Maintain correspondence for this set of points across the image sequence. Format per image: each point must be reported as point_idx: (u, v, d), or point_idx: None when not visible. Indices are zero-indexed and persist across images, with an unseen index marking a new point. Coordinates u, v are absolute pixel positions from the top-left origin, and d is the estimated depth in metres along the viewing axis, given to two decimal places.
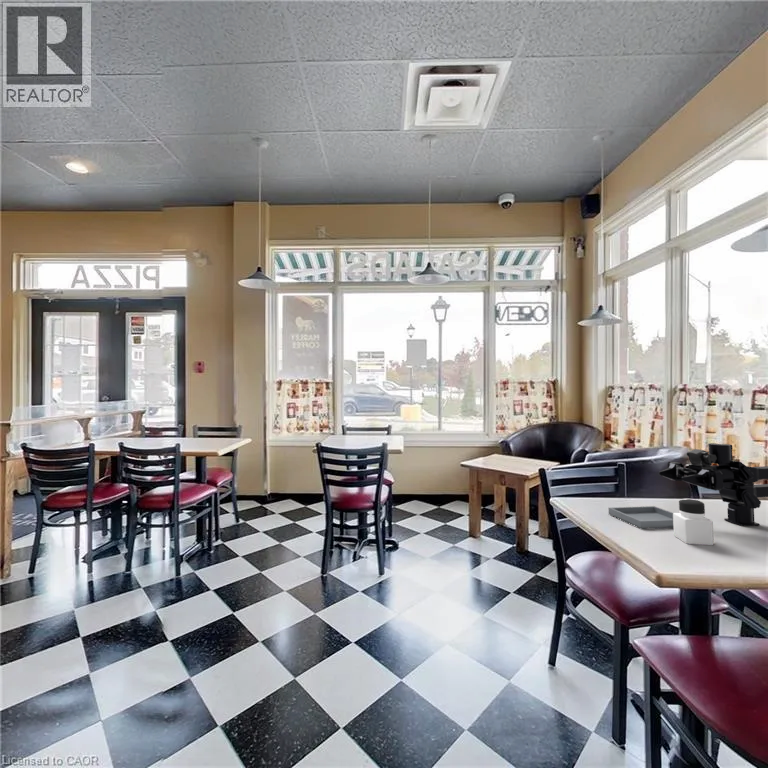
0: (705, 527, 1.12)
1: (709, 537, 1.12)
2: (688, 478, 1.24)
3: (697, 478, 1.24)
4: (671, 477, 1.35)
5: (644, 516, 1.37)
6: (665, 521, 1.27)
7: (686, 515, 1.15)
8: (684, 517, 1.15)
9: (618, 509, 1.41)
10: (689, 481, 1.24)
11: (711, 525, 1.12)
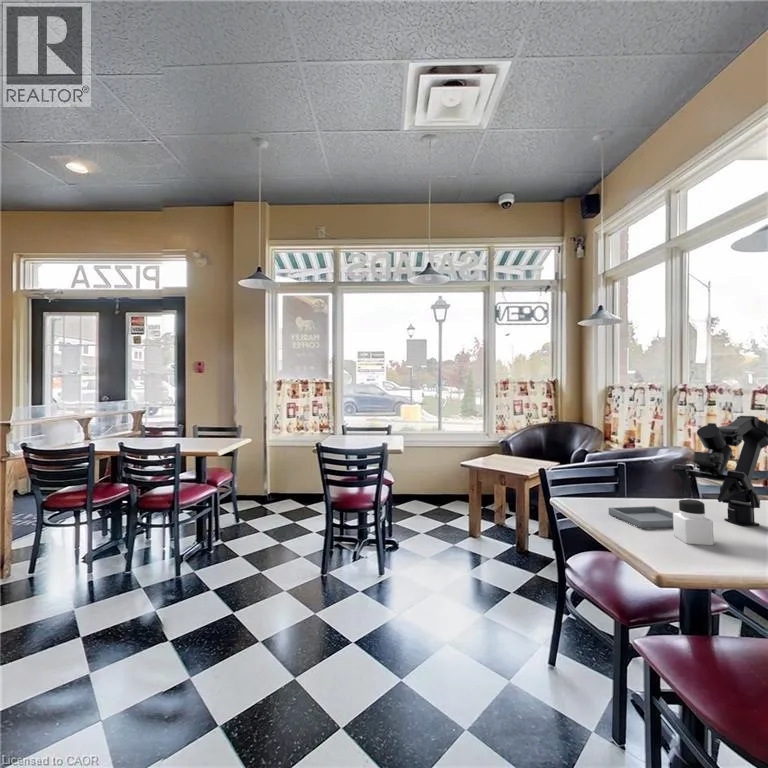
0: (705, 527, 1.12)
1: (709, 537, 1.12)
2: (723, 496, 1.14)
3: (727, 490, 1.15)
4: (689, 486, 1.25)
5: (644, 516, 1.37)
6: (665, 521, 1.27)
7: (686, 515, 1.15)
8: (684, 517, 1.15)
9: (618, 509, 1.41)
10: (724, 498, 1.15)
11: (711, 525, 1.12)
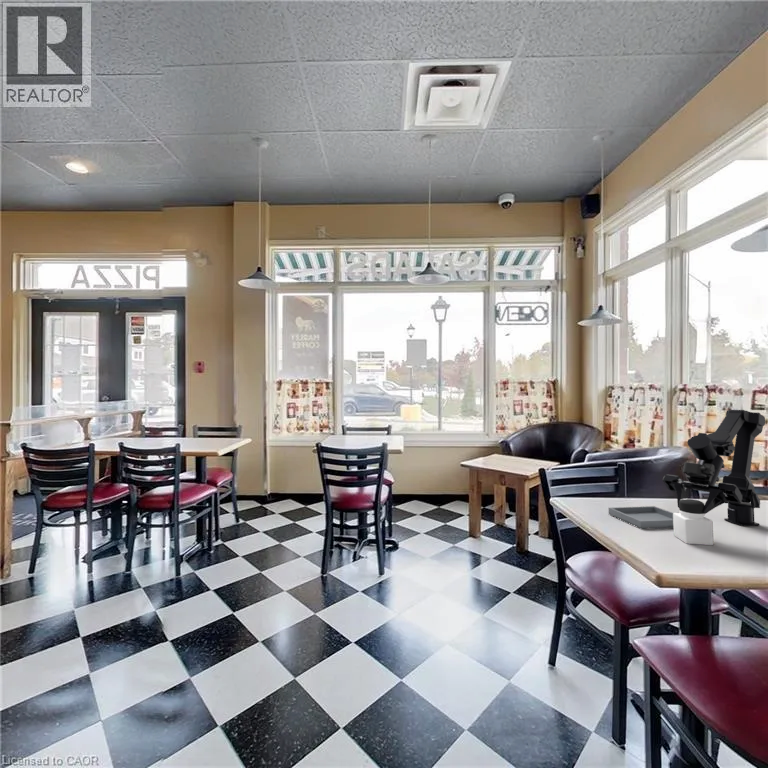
0: (705, 526, 1.12)
1: (709, 537, 1.12)
2: (708, 508, 1.13)
3: (713, 501, 1.13)
4: (685, 498, 1.21)
5: (644, 516, 1.37)
6: (665, 521, 1.27)
7: (686, 515, 1.15)
8: (684, 517, 1.15)
9: (618, 509, 1.41)
10: (709, 509, 1.13)
11: (711, 525, 1.12)
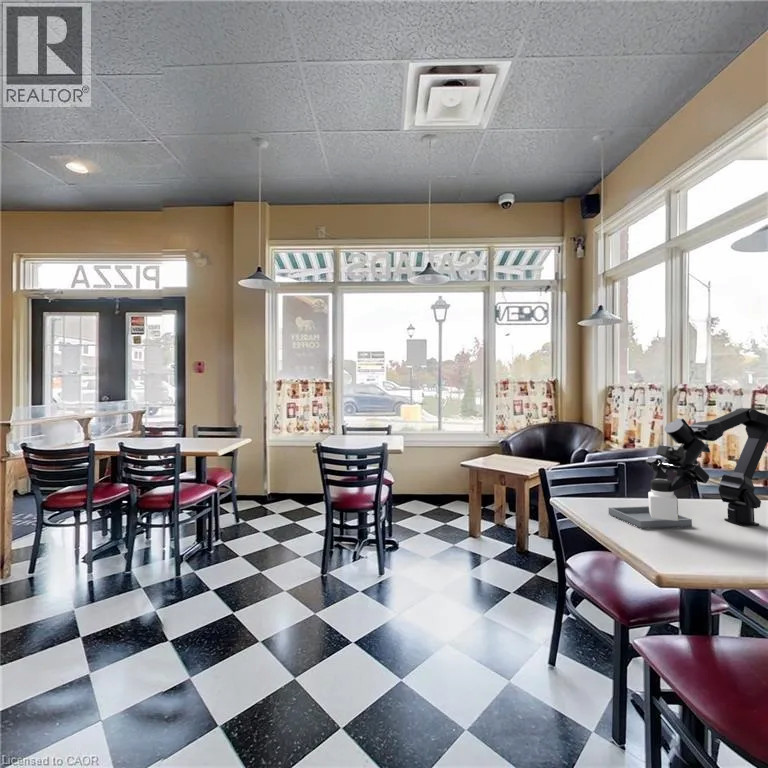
0: (670, 503, 1.22)
1: (673, 513, 1.22)
2: (674, 486, 1.23)
3: (680, 480, 1.22)
4: None
5: (644, 516, 1.37)
6: (665, 521, 1.27)
7: (654, 493, 1.26)
8: (652, 494, 1.26)
9: (618, 509, 1.41)
10: (676, 488, 1.23)
11: (675, 502, 1.22)
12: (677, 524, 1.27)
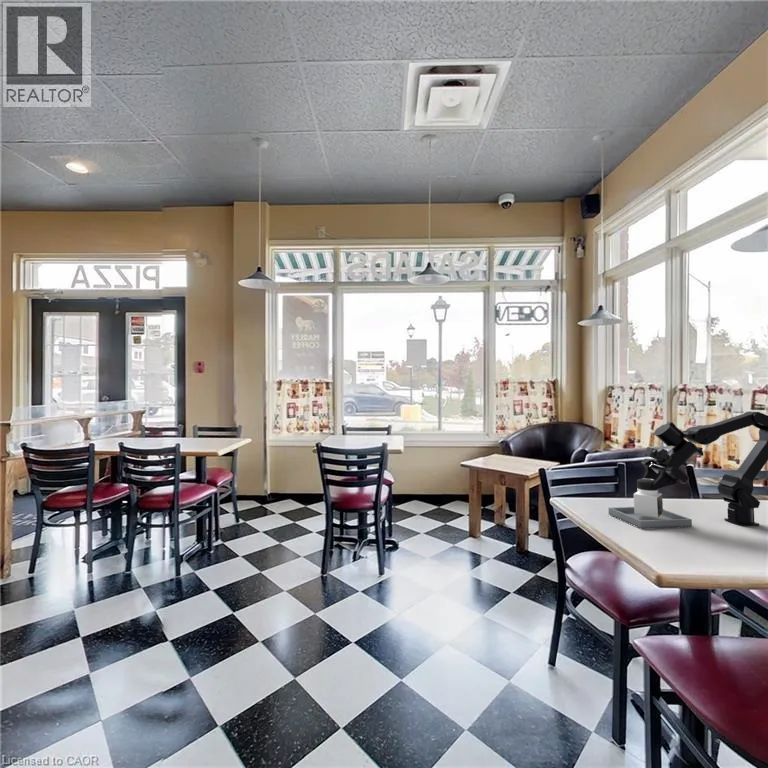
0: (650, 501, 1.31)
1: (653, 510, 1.31)
2: (655, 485, 1.31)
3: (662, 480, 1.31)
4: (654, 479, 1.38)
5: (644, 516, 1.37)
6: (665, 521, 1.27)
7: (638, 491, 1.36)
8: (636, 492, 1.36)
9: (618, 509, 1.41)
10: (658, 487, 1.31)
11: (656, 500, 1.30)
12: (677, 524, 1.27)
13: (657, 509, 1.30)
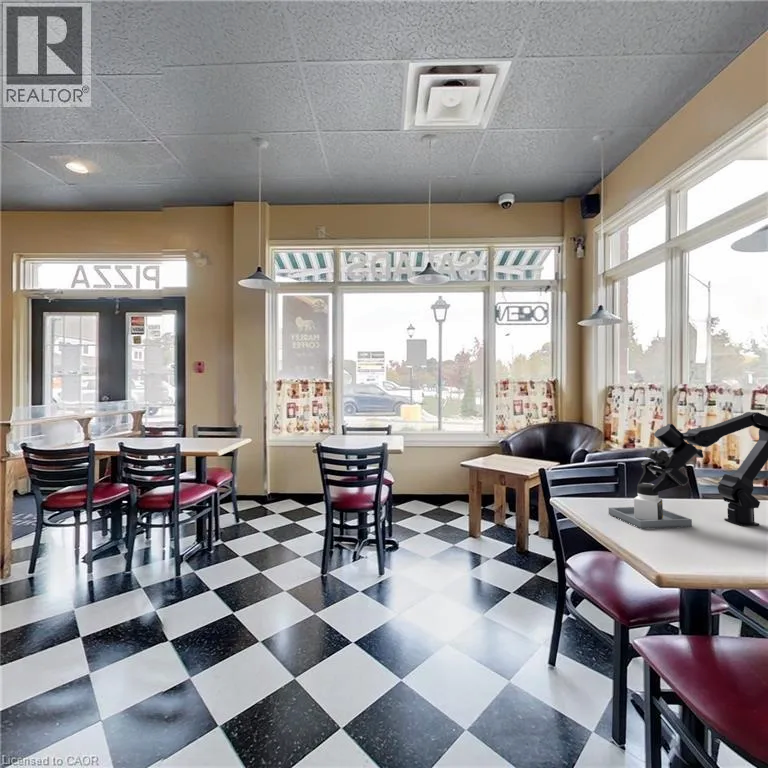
0: (651, 506, 1.31)
1: (653, 515, 1.31)
2: (657, 488, 1.30)
3: (664, 483, 1.29)
4: (651, 479, 1.39)
5: None
6: (665, 521, 1.27)
7: (639, 495, 1.35)
8: (637, 497, 1.36)
9: (618, 509, 1.41)
10: (660, 489, 1.30)
11: (656, 505, 1.30)
12: (677, 524, 1.27)
13: (657, 514, 1.30)
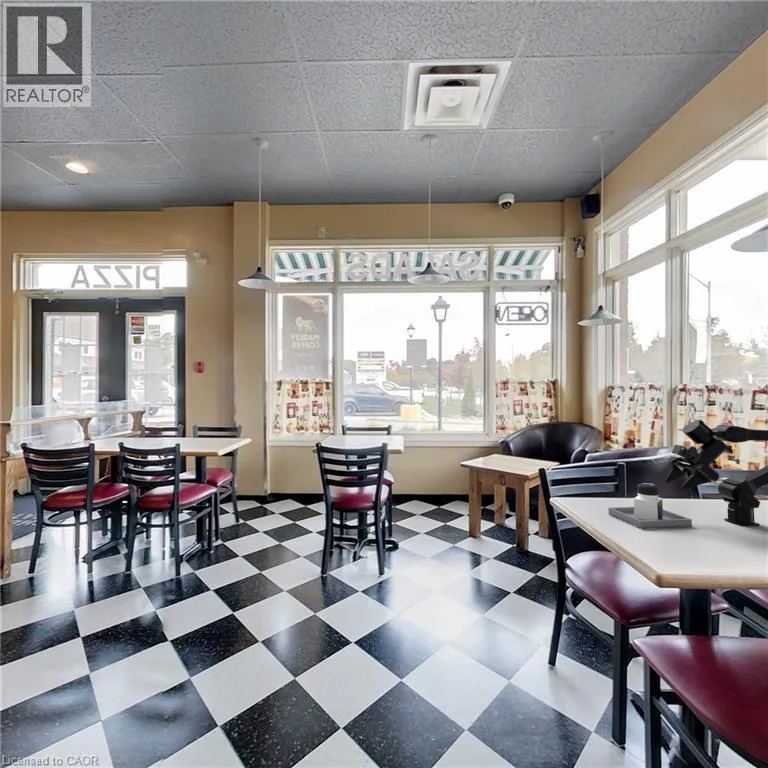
0: (651, 506, 1.31)
1: (654, 515, 1.31)
2: (687, 484, 1.29)
3: (694, 479, 1.28)
4: (679, 476, 1.38)
5: None
6: (665, 521, 1.27)
7: (639, 495, 1.35)
8: (637, 497, 1.36)
9: (618, 509, 1.41)
10: (690, 486, 1.28)
11: (656, 505, 1.30)
12: (677, 524, 1.27)
13: (657, 514, 1.30)
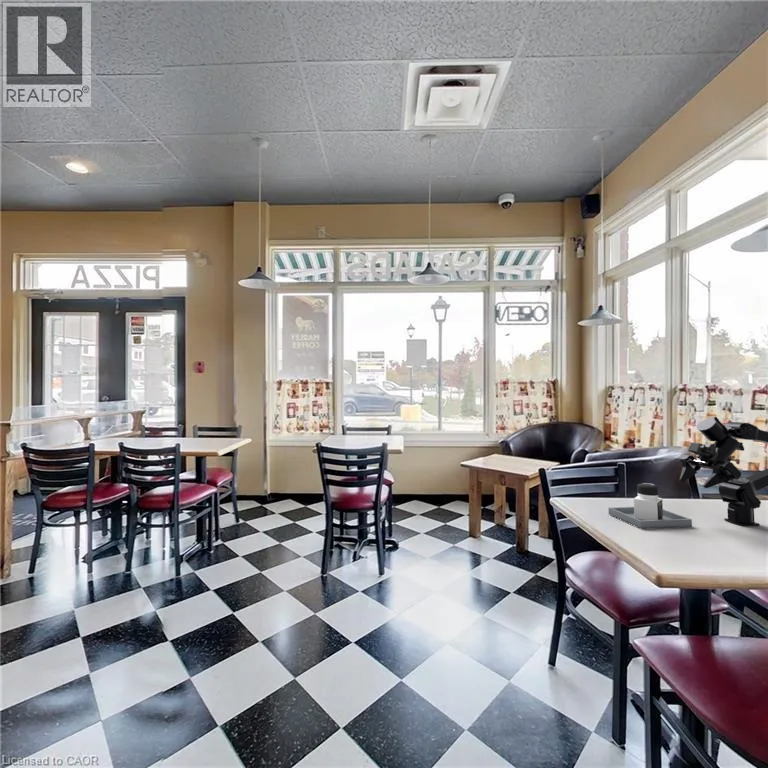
0: (651, 506, 1.31)
1: (654, 515, 1.31)
2: (709, 483, 1.25)
3: (715, 477, 1.25)
4: (691, 474, 1.35)
5: None
6: (665, 521, 1.27)
7: (639, 495, 1.35)
8: (637, 497, 1.36)
9: (618, 509, 1.41)
10: (711, 485, 1.25)
11: (656, 505, 1.30)
12: (677, 524, 1.27)
13: (657, 514, 1.30)
